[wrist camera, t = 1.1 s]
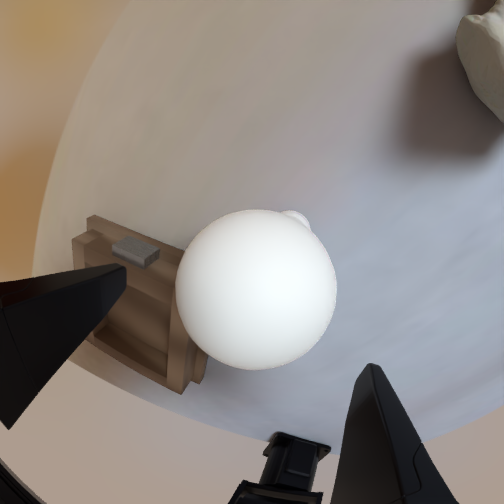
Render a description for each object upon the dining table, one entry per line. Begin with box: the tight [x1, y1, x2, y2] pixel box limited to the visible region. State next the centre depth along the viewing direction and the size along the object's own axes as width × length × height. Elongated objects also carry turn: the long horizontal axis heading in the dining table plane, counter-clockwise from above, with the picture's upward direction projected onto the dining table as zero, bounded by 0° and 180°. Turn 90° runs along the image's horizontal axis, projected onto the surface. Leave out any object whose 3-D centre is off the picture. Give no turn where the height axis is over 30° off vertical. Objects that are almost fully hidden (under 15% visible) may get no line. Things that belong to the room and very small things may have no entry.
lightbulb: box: [175, 210, 337, 370], centre depth 13 cm, size 6×6×11 cm
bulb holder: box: [72, 215, 208, 395], centre depth 23 cm, size 13×13×4 cm
